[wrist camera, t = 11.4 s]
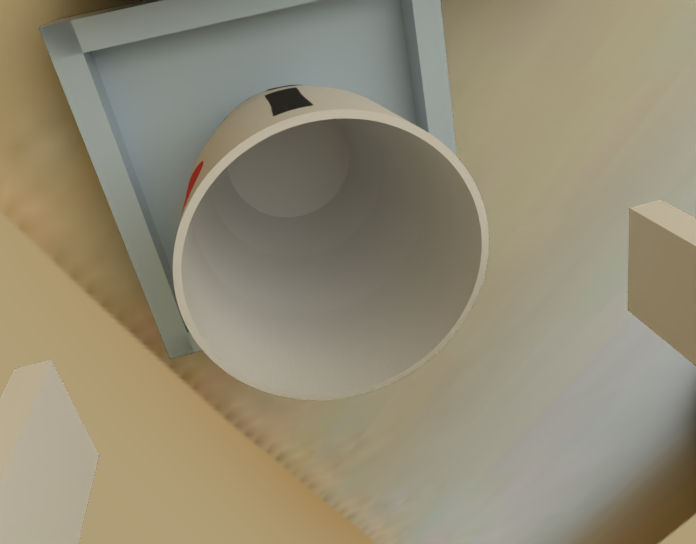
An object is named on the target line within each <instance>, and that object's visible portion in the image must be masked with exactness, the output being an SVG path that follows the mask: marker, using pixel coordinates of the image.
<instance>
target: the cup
mask: <svg viewBox="0 0 696 544" xmlns="http://www.w3.org/2000/svg"><path fill="white" fill-rule="evenodd" d="M488 251H489V232H488V223H487V217H486V212H485V208H484V205H483V201H482V199H481V196H480V193H479V191H478V189H477V187H476V184H475V182H474V181H473V179H472V177H471V175H470V174H469V172H468V171H467V169H466V168H465V166H464V165H463V164H462V162H461V161H460V160H459V159H458V158H457V157H456V155H455V154H454V153H453V152H452V151H451V150H450V149H449V148H448V147H447V146H445V145H444V144H443V143H442V142H441V141H439V140H438V139H437V138H435V137H434V136H433V135H431V134H430V133H428V132H426V131H425V130H423V129H421V128H420V127H418V126H416V125H414V124H413V123H411V122H409V121H407V120H405V119H404V118H402V117H400V116H398V115H396V114H395V113H393V112H391V111H389V110H388V109H386V108H384V107H382V106H380V105H379V104H377V103H375V102H373V101H371V100H370V99H367V98H365V97H363V96H361V95H358V94H355V93H352V92H349V91H345V90H341V89H336V88H329V87H320V86H310V85H286V86H280V87H275V88H271V89H268V90H265V91H263V92H260V93H258V94H256V95H254V96H252V97H250V98H248V99H247V100H245V101H244V102H242V103H241V104H240V105H238V106H237V107H236V108H235V109H234V110H233V111H232V112H231V113H230V114H229V115H228V116H227V117H226V118H225V119H224V120H223V122H222V123H221V124H220V126H219V127H218V128H217V130H216V131H215V132H214V134H213V135H212V136H211V138H210V139H209V140H208V142H207V143H206V145H205V146H204V148H203V150H202V151H201V153H200V155H199V157H198V159H197V161H196V163H195V166H194V168H193V171H192V174H191V177H190V180H189V185H188V189H187V193H186V197H185V202H184V206H183V210H182V215H181V219H180V223H179V228H178V232H177V236H176V241H175V246H174V254H173V282H174V289H175V295H176V299H177V303H178V306H179V309H180V312H181V315H182V317H183V320H184V322H185V324H186V326H187V328H188V330H189V332H190V333H191V335H192V337H193V338H194V340H195V341H196V342H197V344H198V345H199V346H200V348H201V349H202V350H203V351H204V353H205V354H206V355H207V356H208V357H209V358H210V359H211V360H212V361H213V362H214V363H215V364H217V365H218V366H219V367H220V368H221V369H223V370H224V371H225V372H227V373H228V374H229V375H231V376H232V377H234V378H236V379H237V380H239V381H241V382H243V383H245V384H247V385H249V386H251V387H253V388H255V389H258V390H261V391H263V392H266V393H269V394H273V395H277V396H281V397H286V398H292V399H300V400H334V399H342V398H348V397H353V396H357V395H361V394H365V393H368V392H371V391H374V390H377V389H380V388H382V387H385V386H387V385H389V384H392V383H394V382H396V381H398V380H400V379H402V378H403V377H405V376H407V375H409V374H410V373H412V372H413V371H415V370H416V369H418V368H419V367H421V366H422V365H423V364H425V363H426V362H427V361H429V360H430V359H431V358H432V357H433V356H435V355H436V354H437V353H438V352H439V351H440V350H441V349H442V348H443V347H444V346H445V345H446V344H447V343H448V342H449V341H450V339H451V338H452V337H453V336H454V335H455V333H456V332H457V331H458V330H459V328H460V327H461V325H462V324H463V322H464V321H465V319H466V318H467V316H468V314H469V313H470V311H471V309H472V307H473V305H474V303H475V301H476V299H477V297H478V294H479V292H480V289H481V286H482V283H483V279H484V276H485V272H486V267H487V261H488Z"/></svg>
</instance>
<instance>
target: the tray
mask: <svg viewBox="0 0 696 544" xmlns="http://www.w3.org/2000/svg"><path fill="white" fill-rule="evenodd" d="M39 30H40V32H41V35H42V37H43V40H44V42H45V45H46V47H47V50H48V52H49V55H50V57H51V60H52V62H53V65H54V67H55V70H56V73H57V75H58V78H59V80H60V83H61V85H62V88H63V90H64V93H65V95H66V98H67V100H68V103H69V105H70V108H71V110H72V113H73V115H74V118H75V120H76V123H77V125H78V128H79V131H80V133H81V136H82V138H83V141H84V143H85V146H86V148H87V151H88V153H89V156H90V158H91V161H92V163H93V166H94V168H95V171H96V173H97V176H98V178H99V181H100V184H101V186H102V189H103V191H104V194H105V196H106V199H107V201H108V204H109V206H110V209H111V211H112V214H113V216H114V219H115V221H116V224H117V226H118V229H119V231H120V234H121V236H122V239H123V242H124V244H125V247H126V249H127V252H128V254H129V257H130V259H131V262H132V264H133V267H134V269H135V272H136V274H137V277H138V279H139V282H140V284H141V287H142V289H143V292H144V294H145V297H146V300H147V302H148V305H149V307H150V310H151V312H152V315H153V317H154V320H155V322H156V325H157V327H158V330H159V332H160V335H161V337H162V340H163V342H164V345H165V347H166V350H167V353H168V355H169V358H170V359H173V358H177V357H180V356H184V355H188V354H191V353H195V352H199V351H202V349H201V348H200V346H199V345H198V344H197V342H196V341H195V340H194V338H193V337H192V335H191V333H190V332H189V330H188V328H187V326H186V324H185V322H184V320H183V317H182V315H181V312H180V309H179V306H178V303H177V299H176V295H175V289H174V282H173V254H174V246H175V241H176V236H177V232H178V228H179V223H180V219H181V215H182V210H183V206H184V202H185V197H186V193H187V189H188V185H189V180H190V177H191V174H192V171H193V168H194V166H195V163H196V161H197V159H198V157H199V155H200V153H201V151H202V150H203V148H204V146H205V145H206V143H207V142H208V140H209V139H210V138H211V136H212V135H213V134H214V132H215V131H216V130H217V128H218V127H219V126H220V124H221V123H222V122H223V120H224V119H225V118H226V117H227V116H228V115H229V114H230V113H231V112H232V111H233V110H234V109H235V108H236V107H237V106H238V105H240V104H241V103H242V102H244V101H245V100H247V99H248V98H250V97H252V96H254V95H256V94H258V93H260V92H263V91H265V90H268V89H271V88H275V87H280V86H286V85H310V86H320V87H329V88H336V89H341V90H345V91H349V92H352V93H355V94H358V95H361V96H363V97H365V98H367V99H370V100H371V101H373V102H375V103H377V104H379V105H380V106H382V107H384V108H386V109H388V110H389V111H391V112H393V113H395V114H396V115H398V116H400V117H402V118H404V119H405V120H407V121H409V122H411V123H413V124H414V125H416V126H418V127H420V128H421V129H423V130H425V131H426V132H428V133H430V134H431V135H433V136H434V137H435V138H437V139H438V140H439V141H441V142H442V143H443V144H444V145H445V146H447V147H448V148H449V149H450V150H451V151H452V152H453V153H454V154H455V155H456V157H457V151H456V142H455V133H454V123H453V114H452V105H451V95H450V86H449V76H448V67H447V58H446V48H445V39H444V30H443V20H442V11H441V2H440V0H145V1H140V2H136V3H131V4H127V5H122V6H117V7H113V8H108V9H104V10H99V11H94V12H90V13H85V14H81V15H76V16H71V17H67V18H62V19H58V20H54V21H52V22H49V23H47V24H45V25H43V26H41V27H39Z"/></svg>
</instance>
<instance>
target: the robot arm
mask: <svg viewBox="0 0 696 544" xmlns="http://www.w3.org/2000/svg"><path fill="white" fill-rule="evenodd" d="M628 311H630V312H631V313H632V314H633V315H634V316H636V317H637V318H638V319H639V320H641V321H642V322H643V323H644V324H645V325H647V326H648V327H649V328H650V329H651V330H653V331H654V332H655V333H656V334H658V335H659V336H660V337H661V338H662V339H664V340H665V341H666V342H667V343H668V344H670V345H671V346H672V347H673V348H675V349H676V350H677V351H678V352H679V353H681V354H682V355H683V356H684V357H685V358H687V359H688V360H689V361H690V362H692V363H693V364H694V365H695V366H696V218H695V217H693V216H691V215H689V214H687V213H685V212H683V211H681V210H679V209H677V208H675V207H673V206H671V205H669V204H668V203H666V202H664V201H662V200H658V201H654V202H650V203H646V204H642V205H639V206H635V207H631V208H629V259H628ZM98 459H99V455H98V453H97V451H96V449H95V447H94V445H93V443H92V441H91V439H90V437H89V435H88V432H87V430H86V428H85V426H84V424H83V422H82V421H81V418H80V416H79V414H78V412H77V410H76V408H75V406H74V404H73V402H72V400H71V398H70V397H69V394H68V392H67V390H66V388H65V386H64V384H63V382H62V380H61V378H60V376H59V374H58V372H57V370H56V368H55V366H54V364H53V362H52V360H51V359H50V360H46V361H43V362H39V363H35V364H31V365H27V366H23V367H20V368H16V369H14V371H13V373H12V375H11V377H10V379H9V381H8V383H7V385H6V387H5V389H4V391H3V393H2V395H1V397H0V544H79V539H80V535H81V531H82V526H83V522H84V518H85V514H86V510H87V505H88V501H89V496H90V493H91V488H92V484H93V480H94V476H95V471H96V467H97V463H98Z"/></svg>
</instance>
